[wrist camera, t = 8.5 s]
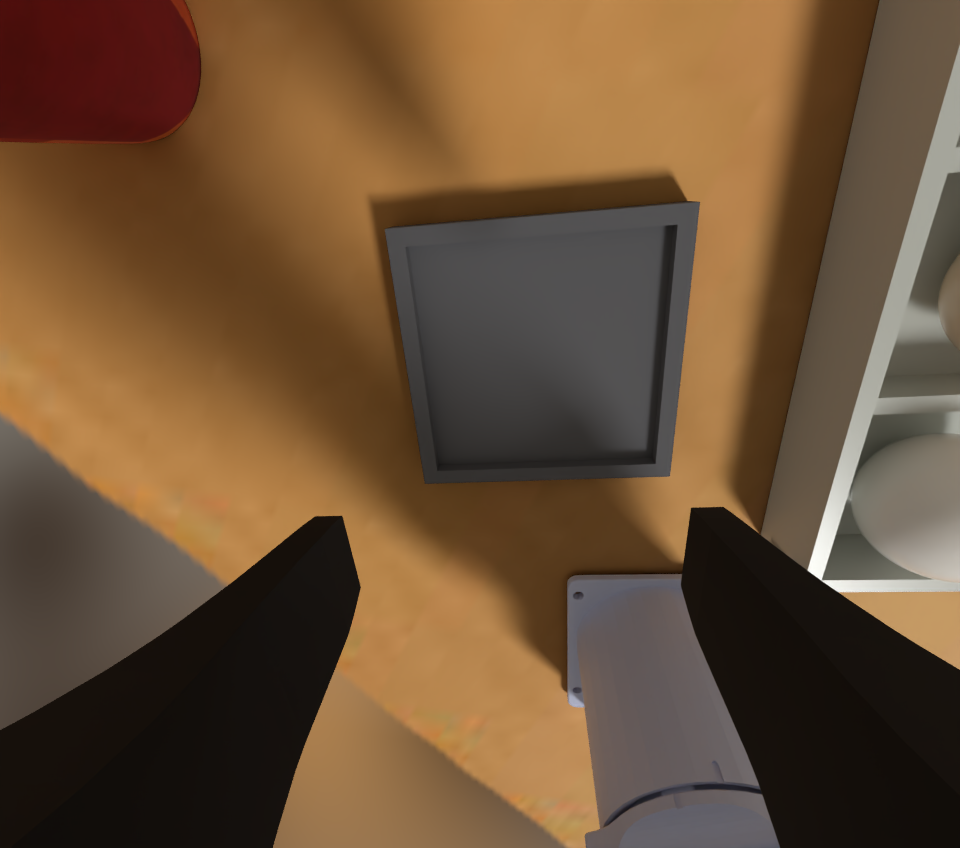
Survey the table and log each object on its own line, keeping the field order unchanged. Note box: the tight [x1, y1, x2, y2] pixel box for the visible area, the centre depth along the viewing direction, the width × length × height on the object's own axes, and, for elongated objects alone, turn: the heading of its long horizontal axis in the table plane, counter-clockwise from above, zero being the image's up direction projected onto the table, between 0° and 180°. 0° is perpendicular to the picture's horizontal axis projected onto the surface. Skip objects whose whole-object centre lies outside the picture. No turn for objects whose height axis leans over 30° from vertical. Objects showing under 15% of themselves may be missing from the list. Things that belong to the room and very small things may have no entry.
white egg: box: [851, 433, 960, 583], centre depth 16 cm, size 5×5×5 cm
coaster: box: [385, 201, 700, 484], centre depth 18 cm, size 10×10×1 cm
